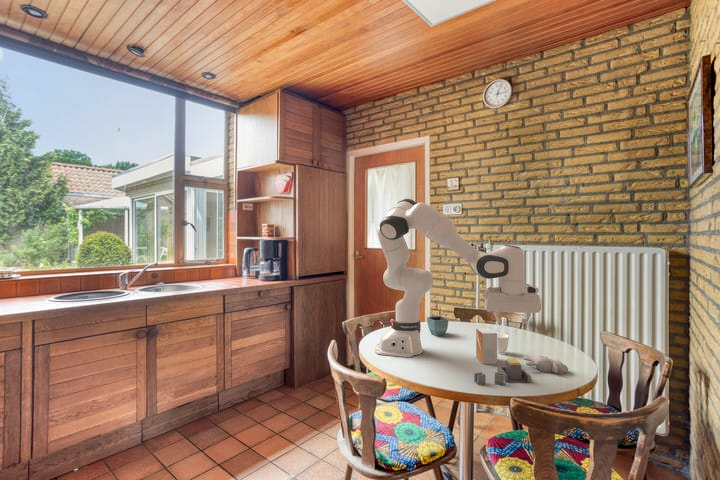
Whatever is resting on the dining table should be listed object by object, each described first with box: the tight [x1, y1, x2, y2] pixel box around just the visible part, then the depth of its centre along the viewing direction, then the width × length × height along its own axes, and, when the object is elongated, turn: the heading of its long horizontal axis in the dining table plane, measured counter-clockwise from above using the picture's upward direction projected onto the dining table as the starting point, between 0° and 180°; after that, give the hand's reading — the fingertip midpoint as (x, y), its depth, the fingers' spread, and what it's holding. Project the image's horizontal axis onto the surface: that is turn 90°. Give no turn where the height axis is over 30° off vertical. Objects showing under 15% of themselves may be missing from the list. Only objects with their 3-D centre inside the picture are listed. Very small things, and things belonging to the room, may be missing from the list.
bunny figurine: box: [523, 355, 569, 375], centre depth 136 cm, size 10×5×15 cm
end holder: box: [496, 365, 532, 384], centre depth 129 cm, size 9×9×2 cm
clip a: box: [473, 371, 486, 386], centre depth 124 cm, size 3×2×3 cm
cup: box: [497, 333, 510, 356], centre depth 157 cm, size 7×10×8 cm
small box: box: [475, 327, 498, 365], centre depth 147 cm, size 8×6×13 cm
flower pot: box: [426, 315, 450, 337], centre depth 187 cm, size 9×9×9 cm
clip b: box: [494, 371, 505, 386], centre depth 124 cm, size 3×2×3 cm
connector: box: [504, 358, 522, 379], centre depth 129 cm, size 4×5×6 cm
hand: (512, 323), depth 131 cm, fingers open, 8 cm apart
